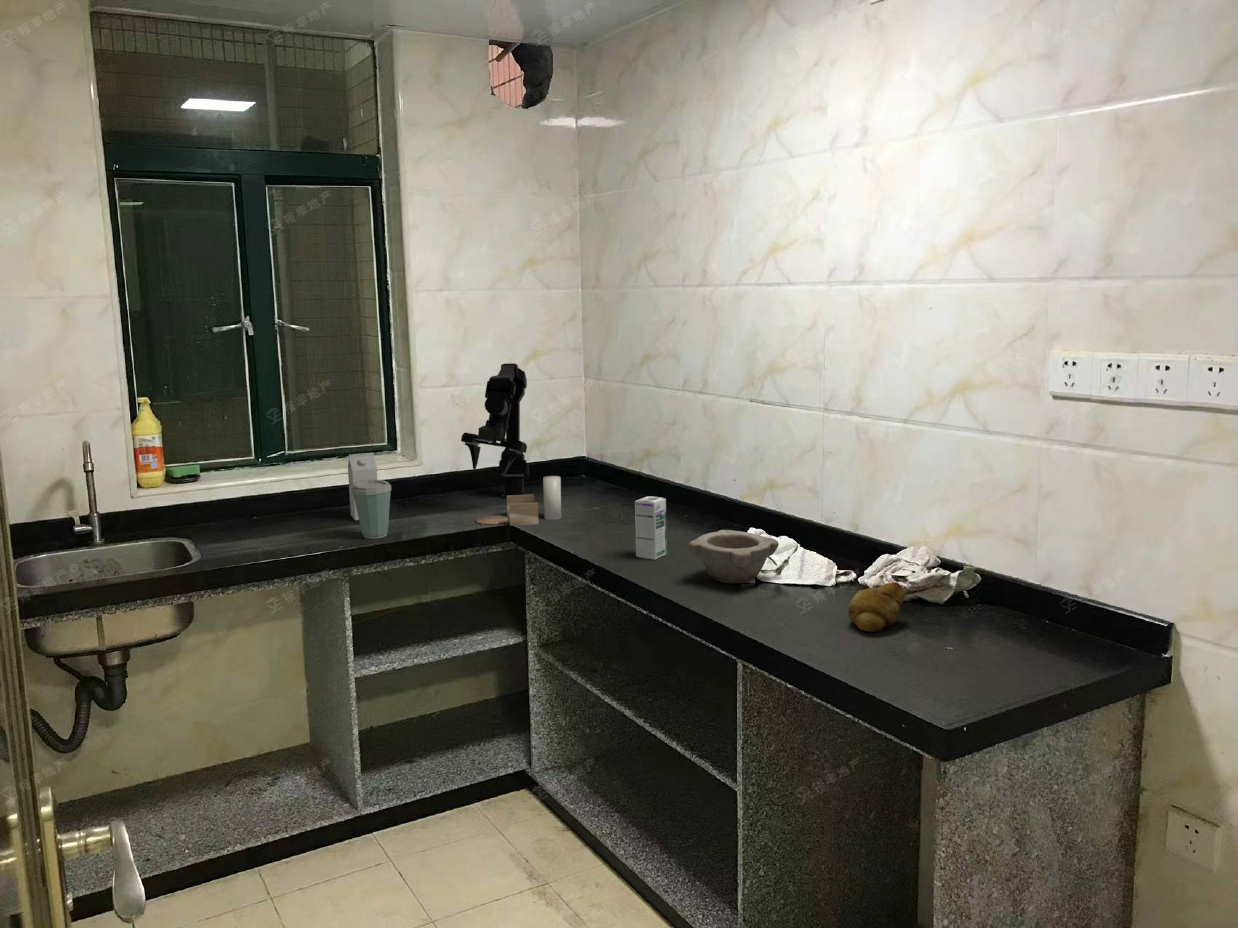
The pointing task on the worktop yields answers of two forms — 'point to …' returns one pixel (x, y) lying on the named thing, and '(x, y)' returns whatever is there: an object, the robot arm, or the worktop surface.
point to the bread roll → (876, 607)
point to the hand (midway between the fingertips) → (488, 471)
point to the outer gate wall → (523, 513)
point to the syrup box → (650, 527)
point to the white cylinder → (552, 497)
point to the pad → (491, 520)
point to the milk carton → (360, 474)
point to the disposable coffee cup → (372, 506)
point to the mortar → (733, 554)
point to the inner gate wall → (519, 500)
